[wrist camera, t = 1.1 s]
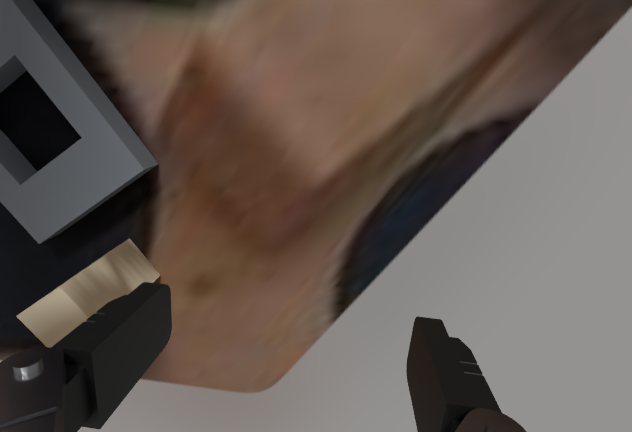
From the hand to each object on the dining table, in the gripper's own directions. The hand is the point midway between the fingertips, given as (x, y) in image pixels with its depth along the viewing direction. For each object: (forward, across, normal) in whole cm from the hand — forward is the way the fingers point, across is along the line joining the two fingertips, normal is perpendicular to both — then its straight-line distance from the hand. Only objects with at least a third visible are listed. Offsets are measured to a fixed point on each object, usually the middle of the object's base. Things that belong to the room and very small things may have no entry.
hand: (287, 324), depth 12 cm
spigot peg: (+20, +18, +9) cm, 28 cm away
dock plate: (+19, +24, -4) cm, 31 cm away
